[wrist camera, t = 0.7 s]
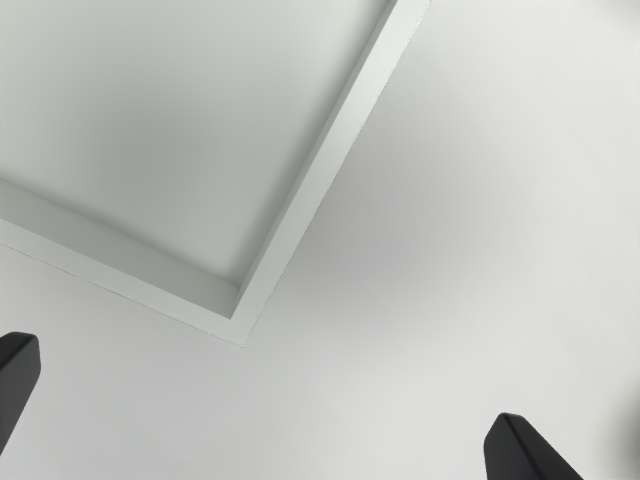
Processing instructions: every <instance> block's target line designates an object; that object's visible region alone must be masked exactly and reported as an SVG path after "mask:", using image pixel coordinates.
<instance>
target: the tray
mask: <svg viewBox="0 0 640 480" xmlns="http://www.w3.org/2000/svg"><path fill="white" fill-rule="evenodd" d="M430 2H431V0H0V244H3V245H5V246H7V247H10V248H12V249H14V250H17V251H19V252H21V253H23V254H26V255H28V256H30V257H33V258H35V259H37V260H40V261H42V262H44V263H47V264H49V265H51V266H54V267H56V268H58V269H60V270H63V271H65V272H67V273H70V274H72V275H74V276H77V277H79V278H81V279H84V280H86V281H88V282H91V283H93V284H95V285H98V286H100V287H102V288H104V289H107V290H109V291H111V292H114V293H116V294H118V295H121V296H123V297H125V298H128V299H130V300H132V301H135V302H137V303H139V304H141V305H144V306H146V307H148V308H151V309H153V310H155V311H158V312H160V313H162V314H165V315H167V316H169V317H172V318H174V319H176V320H179V321H181V322H183V323H185V324H188V325H190V326H192V327H195V328H197V329H199V330H202V331H204V332H206V333H209V334H211V335H213V336H216V337H218V338H220V339H222V340H225V341H227V342H229V343H232V344H234V345H236V346H239V347H241V348H243V346H244V344H245V342H246V340H247V338H248V336H249V335H250V333H251V331H252V329H253V327H254V325H255V324H256V322H257V320H258V318H259V316H260V314H261V313H262V311H263V309H264V307H265V305H266V303H267V302H268V300H269V298H270V296H271V294H272V292H273V290H274V289H275V287H276V285H277V283H278V281H279V279H280V278H281V276H282V274H283V272H284V270H285V268H286V267H287V265H288V263H289V261H290V259H291V257H292V256H293V254H294V252H295V250H296V248H297V246H298V244H299V243H300V241H301V239H302V237H303V235H304V233H305V232H306V230H307V228H308V226H309V224H310V222H311V221H312V219H313V217H314V215H315V213H316V211H317V210H318V208H319V206H320V204H321V202H322V200H323V198H324V197H325V195H326V193H327V191H328V189H329V187H330V186H331V184H332V182H333V180H334V178H335V176H336V175H337V173H338V171H339V169H340V167H341V165H342V164H343V162H344V160H345V158H346V156H347V154H348V153H349V151H350V149H351V147H352V145H353V143H354V141H355V140H356V138H357V136H358V134H359V132H360V130H361V129H362V127H363V125H364V123H365V121H366V119H367V118H368V116H369V114H370V112H371V110H372V108H373V107H374V105H375V103H376V101H377V99H378V97H379V95H380V94H381V92H382V90H383V88H384V86H385V84H386V83H387V81H388V79H389V77H390V75H391V73H392V72H393V70H394V68H395V66H396V64H397V62H398V61H399V59H400V57H401V55H402V53H403V51H404V49H405V48H406V46H407V44H408V42H409V40H410V38H411V37H412V35H413V33H414V31H415V29H416V27H417V26H418V24H419V22H420V20H421V18H422V16H423V15H424V13H425V11H426V9H427V7H428V5H429V3H430Z"/></svg>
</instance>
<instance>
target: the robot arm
mask: <svg viewBox="0 0 640 480" xmlns="http://www.w3.org/2000/svg"><path fill="white" fill-rule="evenodd" d="M40 371H41V362H40V351H39V341H38V338H37V336H36V335H33V334H28V333H22V332H10V333H8V334H6V335H4V336H2V337H0V455H1V454H2V452H3V450H4V448H5V446H6V444H7V442H8V440H9V438H10V436H11V434H12V432H13V430H14V428H15V426H16V423H17V421H18V419H19V417H20V415H21V413H22V411H23V409H24V407H25V405H26V403H27V401H28V399H29V397H30V395H31V393H32V391H33V389H34V387H35V385H36V383H37V380H38V378H39V375H40ZM484 457H485V465H486V473H487V480H584V479H583V478H582V477H581V476H580V475H579V474H578V473H577V472H576V471H575V470H574V469H573V468H572V467H571V466H570V465H569V464H568V463H567V462H566V461H565V460H564V459H563V458H562V457H561V456H560V454H559V453H558V452H557V451H556V450H555V449H554V448H553V447H552V446H551V445H550V444H549V443H548V442H547V441H546V440H545V439H544V438H543V437H542V436H541V435H540V434H539V433H538V432H537V431H536V429H535V428H534V427H533V426H532V425H531V424H530V423H529V422H528V421H527V420H526V419H525V418H524V417H522V416H520V415H516V414H510V413H501V414H499V415H498V417H497V418H496V420H495V422H494V424H493V425H492V427H491V429H490V430H489V432H488V434H487V436H486V438H485V441H484Z"/></svg>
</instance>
